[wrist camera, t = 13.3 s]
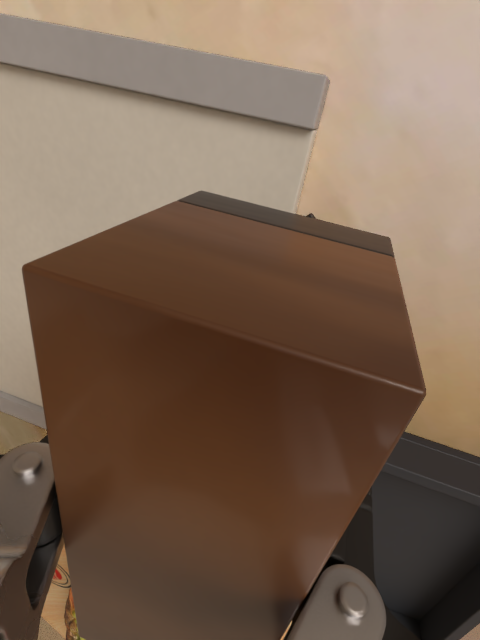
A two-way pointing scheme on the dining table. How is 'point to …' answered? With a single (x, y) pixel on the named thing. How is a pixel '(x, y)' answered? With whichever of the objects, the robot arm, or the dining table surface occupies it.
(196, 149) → the whiteboard
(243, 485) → the eraser
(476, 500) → the tray
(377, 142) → the dining table surface
